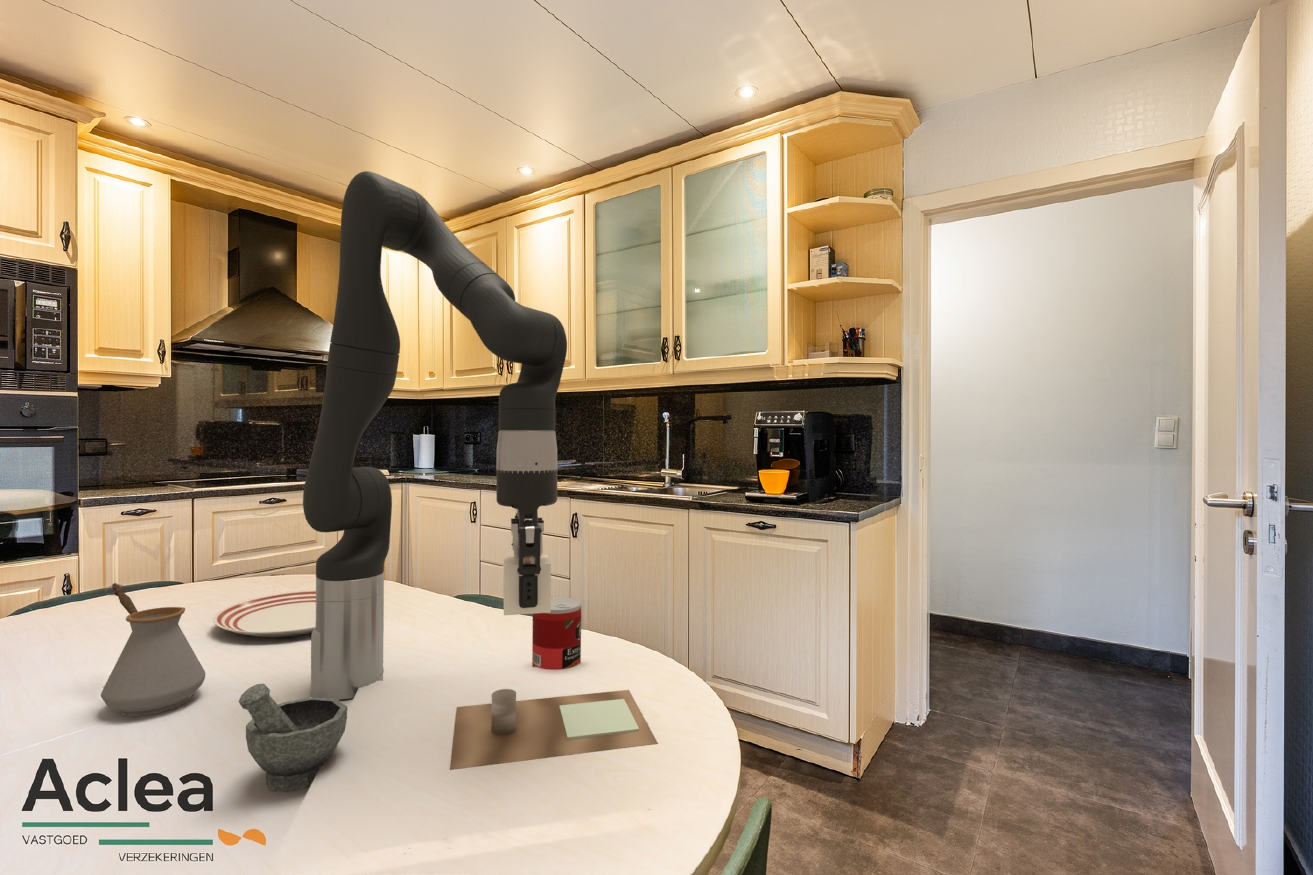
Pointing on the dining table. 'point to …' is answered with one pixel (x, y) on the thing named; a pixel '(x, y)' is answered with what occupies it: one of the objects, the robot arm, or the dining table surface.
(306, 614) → the dinner plate
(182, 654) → the coffee pot
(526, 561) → the cream drawer box
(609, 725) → the mat
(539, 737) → the post board
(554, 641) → the canned food
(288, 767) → the mortar and pestle
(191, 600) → the dining table surface
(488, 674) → the dining table surface
